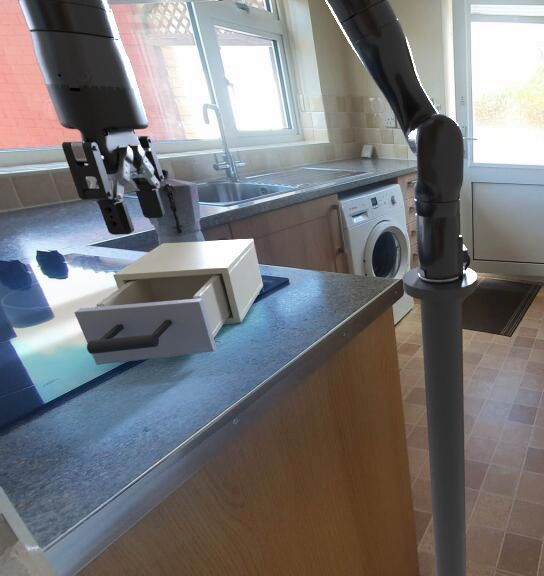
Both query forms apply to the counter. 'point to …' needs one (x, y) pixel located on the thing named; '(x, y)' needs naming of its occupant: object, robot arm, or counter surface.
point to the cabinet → (204, 268)
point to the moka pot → (178, 212)
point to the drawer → (156, 318)
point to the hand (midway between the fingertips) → (140, 225)
